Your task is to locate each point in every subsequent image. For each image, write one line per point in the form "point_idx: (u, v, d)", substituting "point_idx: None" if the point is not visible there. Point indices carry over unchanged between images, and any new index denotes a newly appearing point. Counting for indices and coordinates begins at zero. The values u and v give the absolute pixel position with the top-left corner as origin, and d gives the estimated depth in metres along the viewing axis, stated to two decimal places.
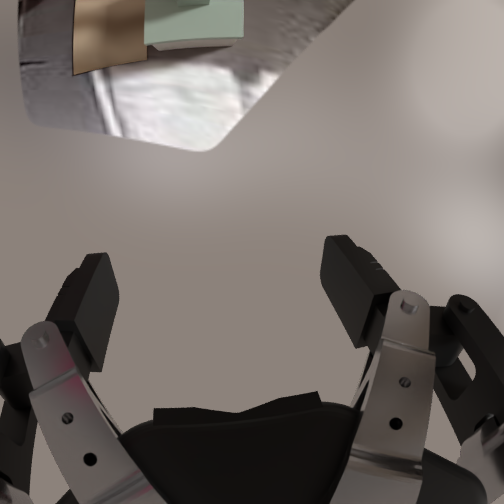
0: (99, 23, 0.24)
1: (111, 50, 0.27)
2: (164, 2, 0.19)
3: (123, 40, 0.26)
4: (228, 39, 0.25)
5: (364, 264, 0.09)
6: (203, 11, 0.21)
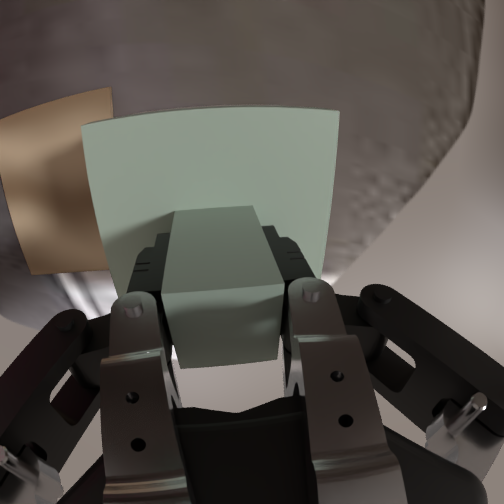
0: (43, 196, 0.17)
1: (75, 247, 0.19)
2: None
3: (90, 233, 0.19)
4: None
5: (278, 252, 0.09)
6: None
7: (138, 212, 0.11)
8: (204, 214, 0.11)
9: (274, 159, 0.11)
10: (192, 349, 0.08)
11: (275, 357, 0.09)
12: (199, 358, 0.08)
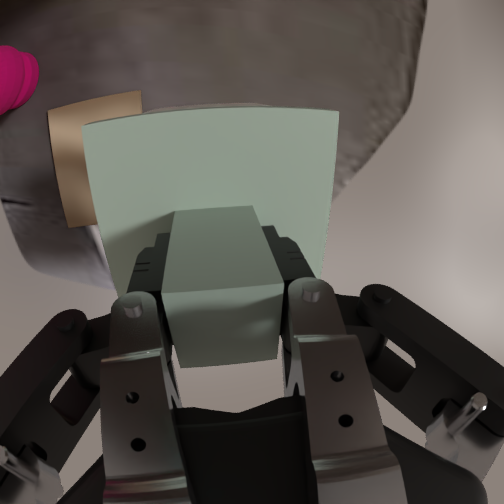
0: None
1: None
2: None
3: None
4: None
5: (278, 252, 0.09)
6: None
7: (139, 212, 0.11)
8: (204, 214, 0.11)
9: (274, 159, 0.11)
10: (192, 348, 0.08)
11: (275, 357, 0.09)
12: (199, 357, 0.08)
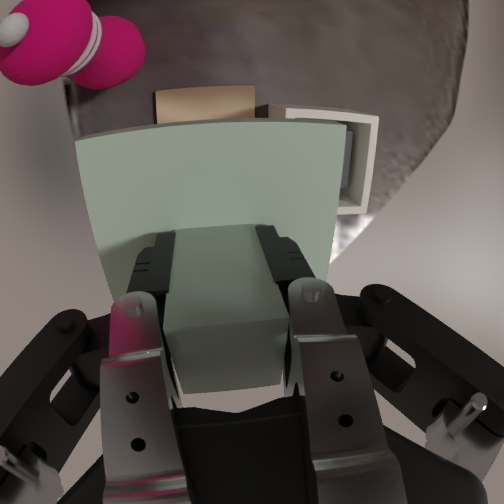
0: None
1: None
2: None
3: None
4: None
5: (278, 252, 0.09)
6: None
7: (137, 230, 0.10)
8: (205, 234, 0.10)
9: (278, 176, 0.10)
10: (195, 377, 0.08)
11: (278, 382, 0.08)
12: (202, 385, 0.08)
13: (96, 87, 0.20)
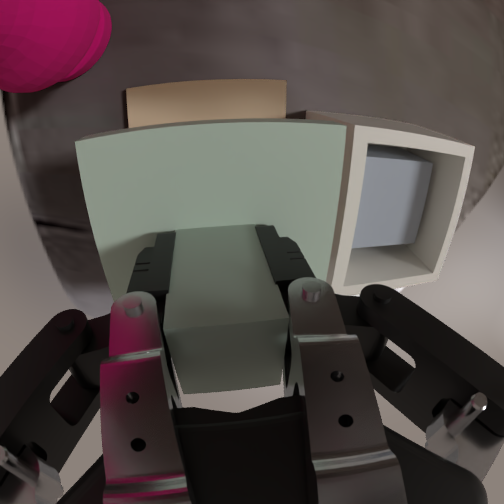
0: None
1: None
2: None
3: None
4: None
5: (278, 252, 0.09)
6: None
7: (137, 230, 0.10)
8: (205, 234, 0.10)
9: (277, 176, 0.10)
10: (195, 377, 0.08)
11: (278, 382, 0.08)
12: (202, 385, 0.08)
13: (22, 90, 0.09)
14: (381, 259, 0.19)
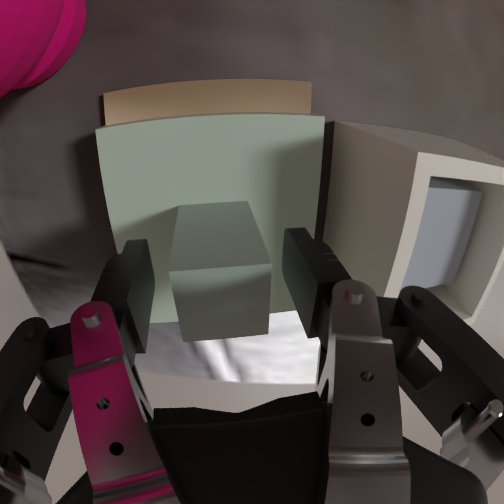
0: None
1: None
2: (156, 252, 0.13)
3: None
4: None
5: (315, 255, 0.09)
6: None
7: (146, 206, 0.12)
8: (205, 208, 0.12)
9: (266, 160, 0.12)
10: (194, 322, 0.09)
11: (266, 331, 0.10)
12: (200, 331, 0.10)
13: None
14: None
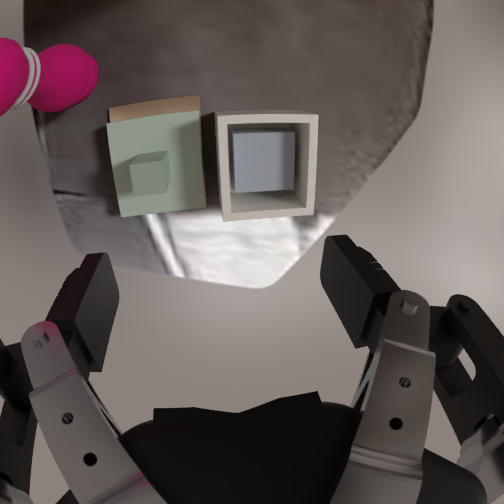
0: None
1: None
2: (130, 176, 0.29)
3: None
4: None
5: (364, 264, 0.09)
6: (167, 185, 0.30)
7: (127, 155, 0.27)
8: (150, 153, 0.27)
9: (174, 131, 0.27)
10: (137, 186, 0.24)
11: (165, 191, 0.25)
12: (140, 191, 0.25)
13: (52, 111, 0.21)
14: (268, 201, 0.30)
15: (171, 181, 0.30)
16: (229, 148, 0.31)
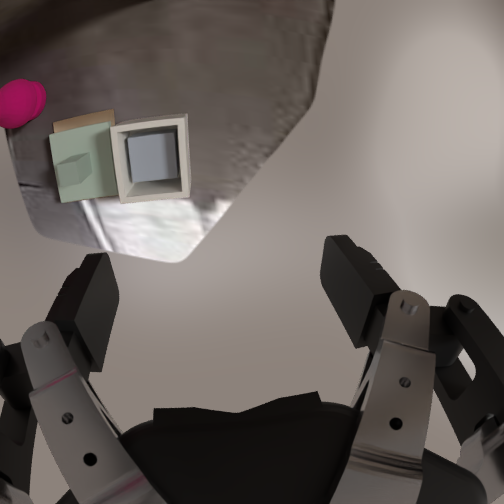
0: None
1: None
2: None
3: None
4: None
5: (364, 264, 0.09)
6: (90, 178, 0.36)
7: (63, 157, 0.34)
8: (76, 155, 0.34)
9: (93, 138, 0.33)
10: (62, 180, 0.31)
11: (79, 183, 0.32)
12: (64, 183, 0.31)
13: None
14: (158, 188, 0.37)
15: (92, 175, 0.36)
16: None
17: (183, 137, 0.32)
